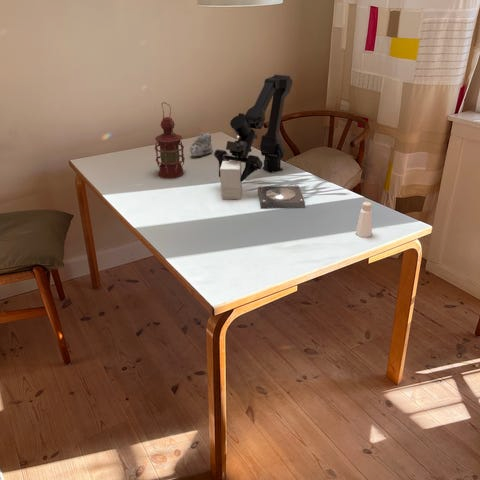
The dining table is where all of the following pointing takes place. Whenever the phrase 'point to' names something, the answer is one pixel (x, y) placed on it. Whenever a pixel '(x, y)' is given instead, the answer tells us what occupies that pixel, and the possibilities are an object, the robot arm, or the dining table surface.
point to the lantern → (169, 150)
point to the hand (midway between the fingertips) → (230, 179)
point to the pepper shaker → (365, 221)
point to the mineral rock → (201, 145)
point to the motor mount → (281, 197)
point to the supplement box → (231, 179)
